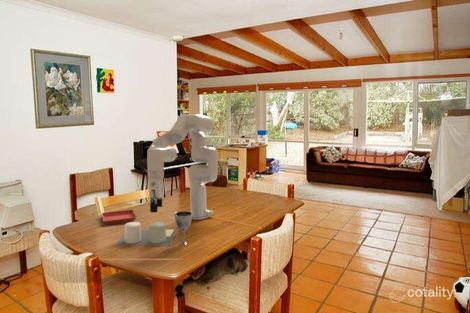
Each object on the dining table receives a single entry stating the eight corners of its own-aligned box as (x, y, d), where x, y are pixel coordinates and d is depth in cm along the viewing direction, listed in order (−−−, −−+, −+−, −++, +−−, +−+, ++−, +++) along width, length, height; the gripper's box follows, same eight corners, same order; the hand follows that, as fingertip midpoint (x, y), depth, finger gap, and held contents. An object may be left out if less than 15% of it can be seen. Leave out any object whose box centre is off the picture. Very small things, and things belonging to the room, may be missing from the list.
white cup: (143, 237, 163) (142, 221, 162) (138, 243, 156) (137, 226, 155) (127, 237, 163) (127, 221, 162) (122, 243, 156) (122, 226, 155)
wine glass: (175, 241, 160) (175, 211, 158) (192, 240, 161) (192, 210, 159) (174, 247, 152) (173, 216, 150) (191, 247, 153) (191, 215, 151)
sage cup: (167, 237, 163) (166, 221, 162) (163, 243, 156) (163, 227, 155) (152, 237, 163) (151, 221, 162) (148, 243, 156) (147, 227, 155)
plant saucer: (101, 217, 198) (101, 212, 198) (133, 214, 205) (132, 209, 205) (103, 226, 182) (103, 221, 181) (137, 222, 189) (136, 217, 189)
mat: (177, 230, 174) (177, 229, 174) (169, 246, 154) (169, 244, 153) (128, 230, 175) (128, 229, 174) (114, 246, 154) (114, 244, 154)
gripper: (159, 177, 147) (160, 214, 149) (167, 171, 164) (168, 204, 166) (142, 176, 147) (143, 214, 149) (152, 171, 164) (153, 204, 166)
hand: (156, 209), depth 157 cm, fingers open, 9 cm apart
